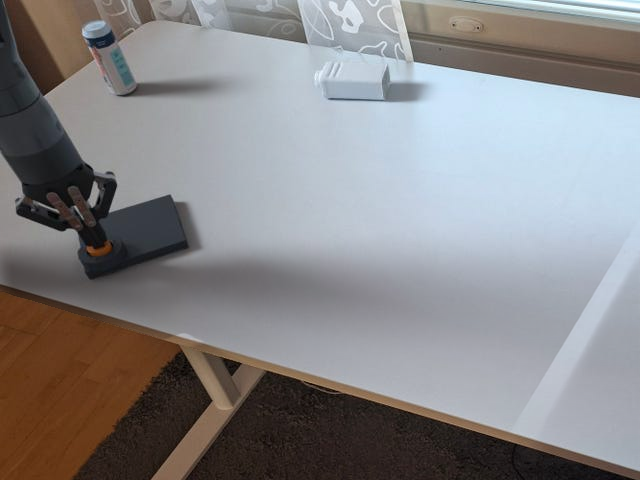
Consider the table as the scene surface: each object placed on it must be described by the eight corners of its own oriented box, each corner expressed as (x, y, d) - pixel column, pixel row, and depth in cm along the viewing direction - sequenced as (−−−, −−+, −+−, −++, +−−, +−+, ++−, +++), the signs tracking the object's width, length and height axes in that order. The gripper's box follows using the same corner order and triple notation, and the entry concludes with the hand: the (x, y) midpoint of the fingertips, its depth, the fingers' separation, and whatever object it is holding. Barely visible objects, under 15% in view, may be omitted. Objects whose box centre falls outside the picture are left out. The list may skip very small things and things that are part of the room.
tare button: (94, 264, 95) (87, 255, 93) (91, 251, 96) (85, 242, 95) (116, 257, 95) (110, 248, 94) (113, 244, 97) (107, 235, 96)
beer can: (113, 84, 128) (82, 20, 118) (139, 81, 128) (110, 17, 119) (109, 98, 125) (77, 33, 115) (136, 95, 125) (105, 30, 116)
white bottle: (323, 81, 126) (318, 59, 123) (391, 83, 125) (388, 60, 122) (314, 100, 122) (309, 78, 119) (384, 102, 121) (380, 80, 118)
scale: (90, 283, 95) (79, 268, 92) (80, 229, 102) (70, 214, 100) (190, 251, 98) (183, 235, 96) (173, 201, 106) (166, 185, 103)
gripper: (83, 104, 85) (142, 213, 98) (-31, 135, 81) (46, 244, 95) (91, 135, 80) (152, 244, 94) (-30, 169, 77) (51, 277, 91)
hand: (99, 244), depth 94 cm, fingers closed
